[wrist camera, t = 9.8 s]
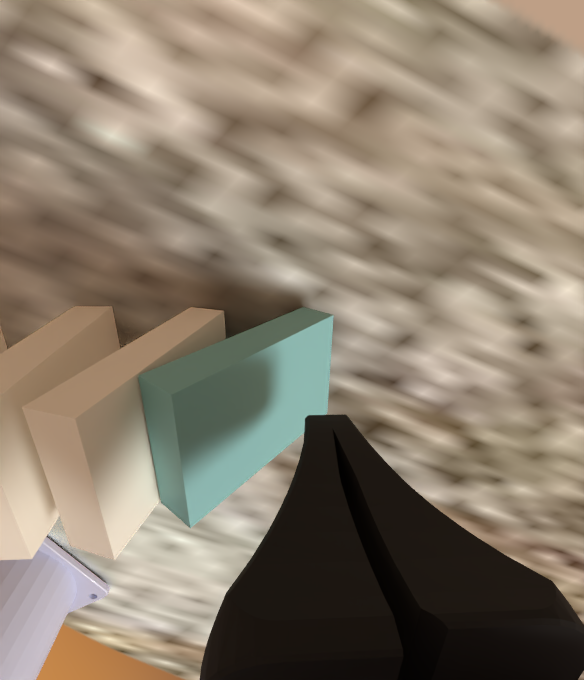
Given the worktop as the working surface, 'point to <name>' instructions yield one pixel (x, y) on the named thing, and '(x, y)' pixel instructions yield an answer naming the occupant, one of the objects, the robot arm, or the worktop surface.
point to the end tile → (234, 408)
